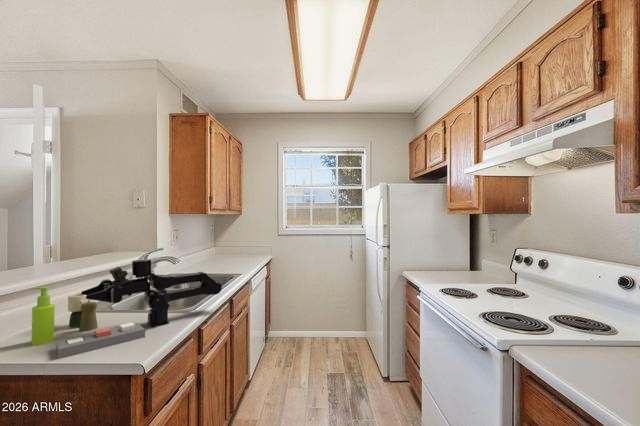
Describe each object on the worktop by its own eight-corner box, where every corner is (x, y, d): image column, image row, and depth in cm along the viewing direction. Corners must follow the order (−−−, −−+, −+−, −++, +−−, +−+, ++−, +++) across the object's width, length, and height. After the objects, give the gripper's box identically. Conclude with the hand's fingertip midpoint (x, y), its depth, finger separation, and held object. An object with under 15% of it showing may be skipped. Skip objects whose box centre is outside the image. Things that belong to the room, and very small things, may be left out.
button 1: (81, 345, 103) (82, 337, 103) (83, 349, 100) (84, 340, 100) (66, 349, 100) (66, 340, 100) (68, 353, 97) (68, 343, 97)
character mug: (92, 326, 123) (93, 294, 124) (70, 331, 118) (71, 298, 118) (85, 320, 130) (86, 290, 131) (64, 325, 125) (65, 294, 125)
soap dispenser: (37, 340, 109) (39, 285, 110) (58, 339, 110) (59, 285, 110) (23, 347, 103) (24, 289, 104) (44, 346, 104) (46, 288, 104)
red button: (108, 335, 108) (108, 327, 108) (110, 338, 105) (110, 330, 105) (94, 338, 105) (94, 330, 105) (96, 342, 102) (96, 333, 103)
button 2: (132, 330, 114) (132, 322, 114) (135, 332, 111) (135, 324, 111) (119, 333, 111) (119, 324, 111) (122, 335, 108) (122, 327, 108)
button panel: (137, 331, 117) (137, 322, 117) (144, 338, 110) (145, 329, 110) (55, 350, 100) (56, 340, 100) (59, 360, 93) (59, 349, 93)
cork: (87, 333, 116) (87, 304, 116) (74, 332, 117) (75, 304, 117) (101, 328, 122) (102, 300, 122) (89, 327, 123) (89, 300, 123)
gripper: (125, 264, 127) (78, 270, 115) (139, 269, 114) (87, 276, 102) (126, 290, 126) (79, 299, 115) (139, 298, 114) (88, 308, 102)
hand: (83, 295), depth 109 cm, fingers open, 9 cm apart
